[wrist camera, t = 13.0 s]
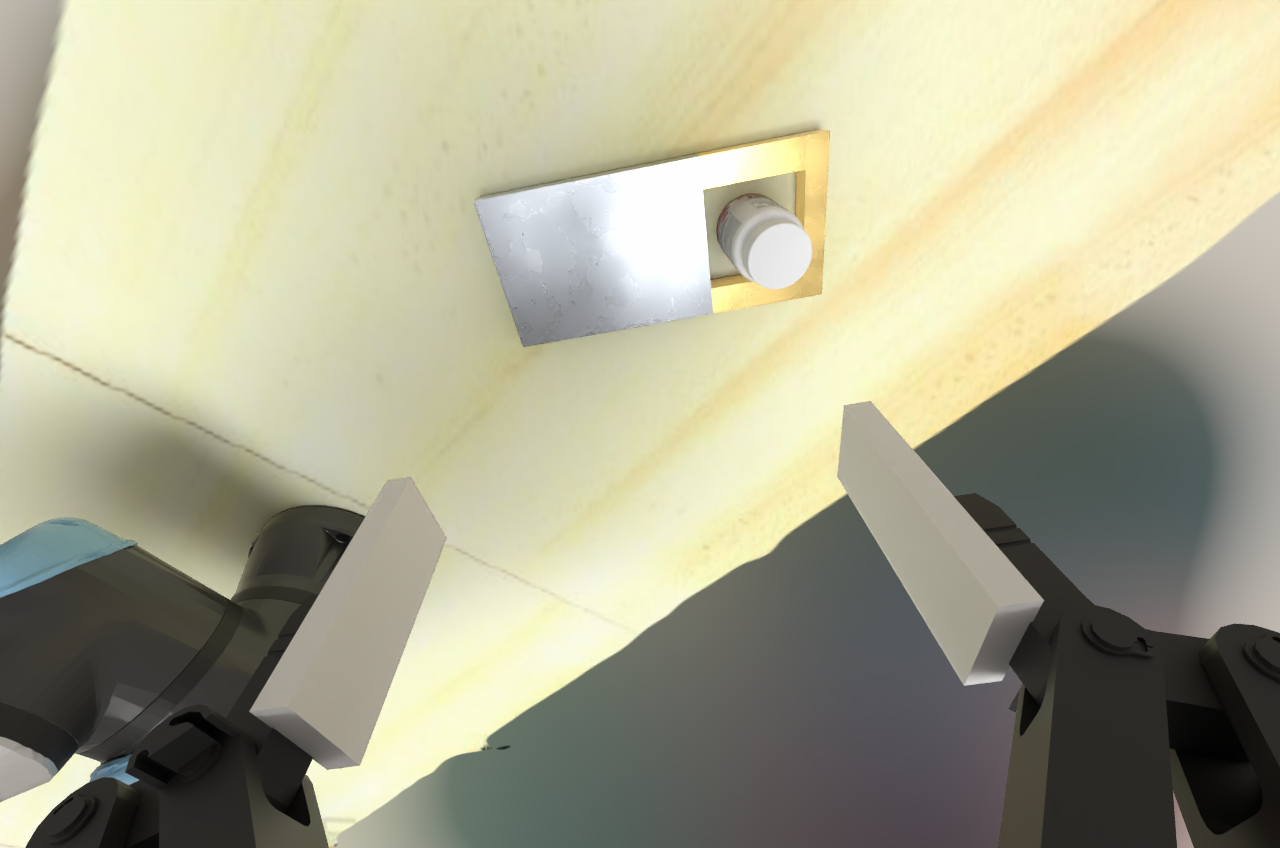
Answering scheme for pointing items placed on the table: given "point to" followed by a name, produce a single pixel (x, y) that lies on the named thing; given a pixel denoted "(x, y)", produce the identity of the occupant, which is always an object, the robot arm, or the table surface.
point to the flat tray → (641, 240)
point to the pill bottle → (764, 241)
